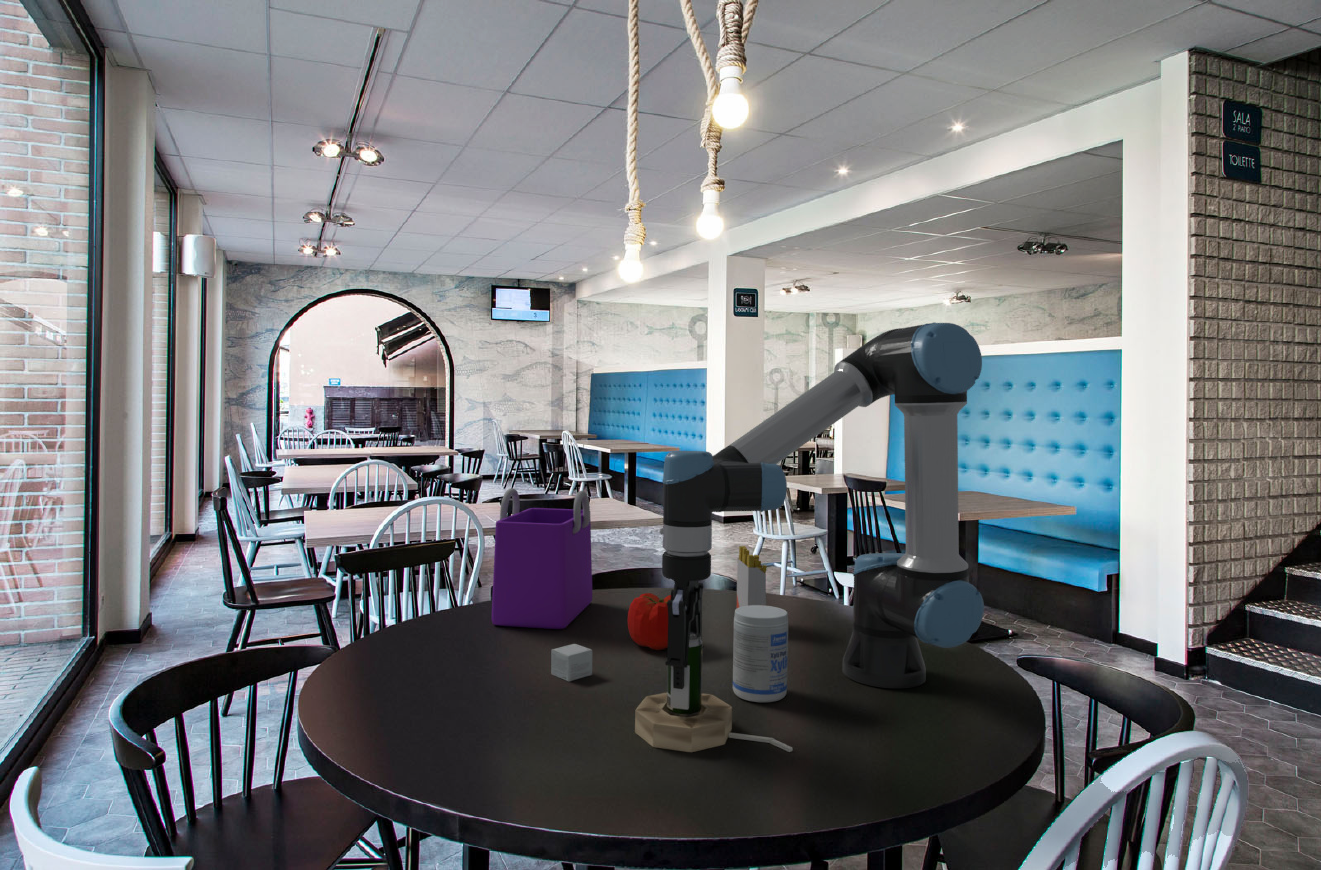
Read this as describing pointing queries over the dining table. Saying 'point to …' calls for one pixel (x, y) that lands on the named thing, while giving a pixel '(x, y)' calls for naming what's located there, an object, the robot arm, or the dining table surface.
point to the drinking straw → (761, 740)
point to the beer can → (690, 679)
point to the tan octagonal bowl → (683, 724)
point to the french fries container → (750, 579)
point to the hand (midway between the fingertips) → (684, 700)
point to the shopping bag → (541, 564)
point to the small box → (571, 662)
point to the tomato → (649, 621)
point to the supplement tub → (760, 653)
